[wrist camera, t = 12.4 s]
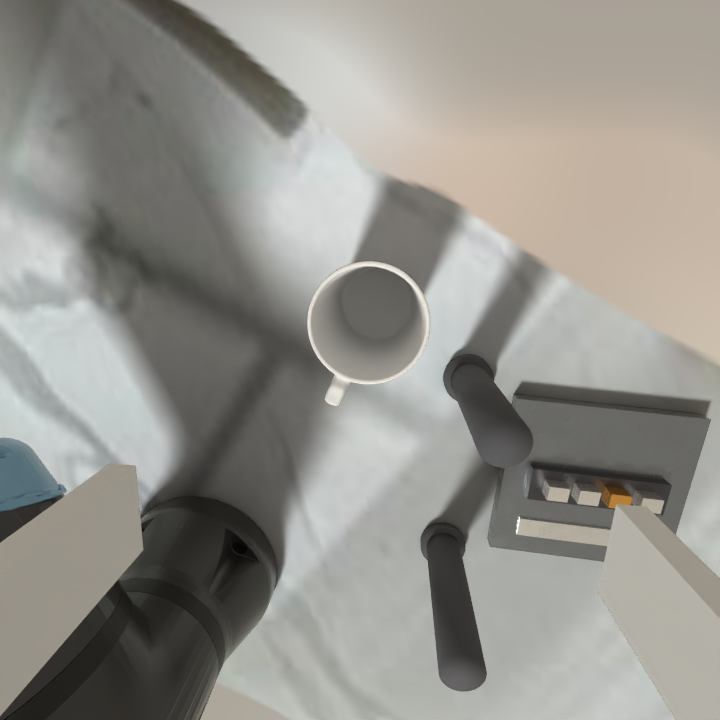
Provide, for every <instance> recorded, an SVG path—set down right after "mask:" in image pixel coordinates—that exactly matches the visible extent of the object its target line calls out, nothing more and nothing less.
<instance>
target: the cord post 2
mask: <svg viewBox="0 0 720 720" xmlns="http://www.w3.org/2000/svg"><path fill="white" fill-rule="evenodd" d="M443 381H444V385H445V388H446V390H447V392H448V394H449V395H450V396H451V397H452V398H453V399H455V400H456V401H458V404H459V406H460V408H461V411H462V413H463V416H464V418H465V420H466V423H467V425H468V428H469V430H470V433H471V435H472V437H473V440H474V442H475V445H476V447H477V450H478V452H479V454H480V456H481V457H482V458H483V459H484V461H486V462H487V463H489V464H490V465H492V466H495V467H500V468H508V467H513V466H516V465H518V464H520V463H521V462H523V461H524V460H525V459H526V458H527V457H528V456H529V454H530V453H531V450H532V447H533V435H532V433H531V430H530V429H529V427H528V426H527V425H526V423H525V422H524V421H523V420H522V418H521V417H520V416H519V414H518V413H517V412H516V410H515V409H514V408H513V406H512V405H511V404H510V403H509V401H508V400H507V399H506V397H505V396H504V395H503V393H502V392H501V391H500V390H499V388H498V387H497V386H496V384H495V383H494V375H493V371H492V369H491V368H490V366H489V365H488V364H487V363H486V361H484V360H483V359H482V358H480V357H478V356H475V355H461V356H459V357H456V358H455V359H453V360H452V361H451V362H450V363H449V364H448V365H447V367H446V369H445V371H444V376H443Z"/></svg>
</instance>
